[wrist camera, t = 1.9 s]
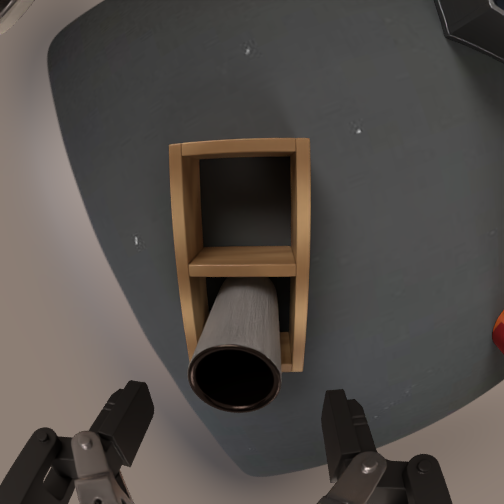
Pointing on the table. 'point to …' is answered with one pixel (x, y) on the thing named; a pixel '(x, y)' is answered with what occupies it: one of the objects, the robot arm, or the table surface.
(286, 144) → the wooden divided box
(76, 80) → the table surface
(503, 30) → the dark grey open box
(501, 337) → the paper cup
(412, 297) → the table surface
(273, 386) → the grey hollow cylinder
